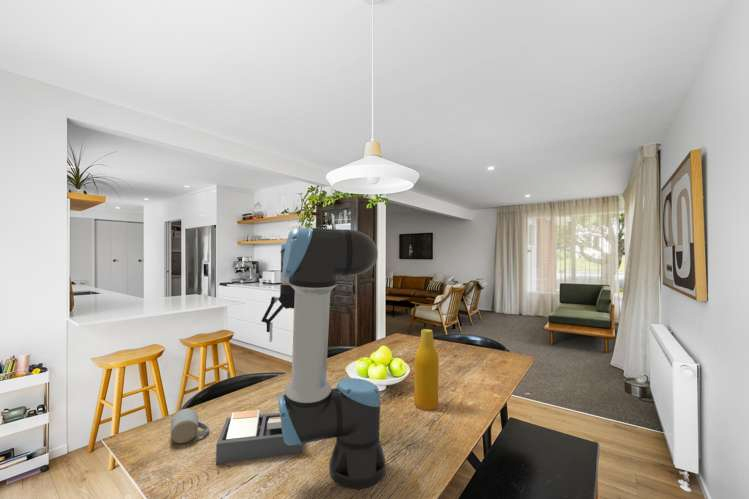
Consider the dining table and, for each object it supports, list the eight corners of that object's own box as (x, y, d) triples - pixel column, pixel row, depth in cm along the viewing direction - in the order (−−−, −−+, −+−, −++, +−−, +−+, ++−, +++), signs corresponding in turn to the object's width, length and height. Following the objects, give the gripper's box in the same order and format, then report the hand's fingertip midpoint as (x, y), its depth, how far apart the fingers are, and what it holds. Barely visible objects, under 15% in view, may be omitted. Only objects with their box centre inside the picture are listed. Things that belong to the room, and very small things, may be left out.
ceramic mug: (170, 448, 98) (171, 422, 98) (170, 435, 105) (171, 410, 105) (209, 439, 104) (210, 414, 104) (207, 427, 111) (208, 404, 111)
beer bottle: (442, 405, 129) (443, 330, 129) (429, 413, 122) (430, 334, 122) (423, 398, 135) (423, 326, 136) (409, 405, 128) (410, 330, 129)
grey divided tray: (301, 453, 97) (302, 424, 97) (216, 464, 91) (216, 433, 91) (300, 427, 111) (301, 402, 111) (226, 435, 106) (227, 408, 106)
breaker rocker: (257, 440, 97) (257, 435, 96) (224, 443, 94) (224, 438, 94) (260, 414, 106) (260, 409, 105) (231, 416, 104) (231, 412, 103)
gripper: (323, 282, 132) (322, 336, 132) (257, 283, 127) (256, 338, 126) (324, 284, 125) (323, 341, 124) (254, 284, 120) (253, 343, 119)
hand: (289, 340), depth 125 cm, fingers open, 13 cm apart
